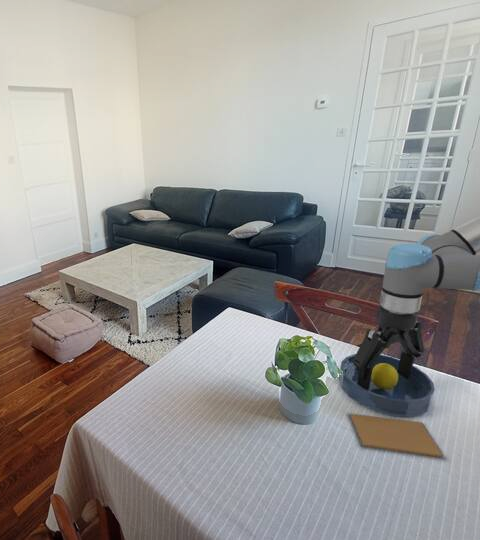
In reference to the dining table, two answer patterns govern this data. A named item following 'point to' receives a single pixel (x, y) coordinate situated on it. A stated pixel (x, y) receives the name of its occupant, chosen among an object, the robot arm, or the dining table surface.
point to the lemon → (384, 376)
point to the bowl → (393, 400)
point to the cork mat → (395, 435)
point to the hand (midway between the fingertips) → (383, 381)
